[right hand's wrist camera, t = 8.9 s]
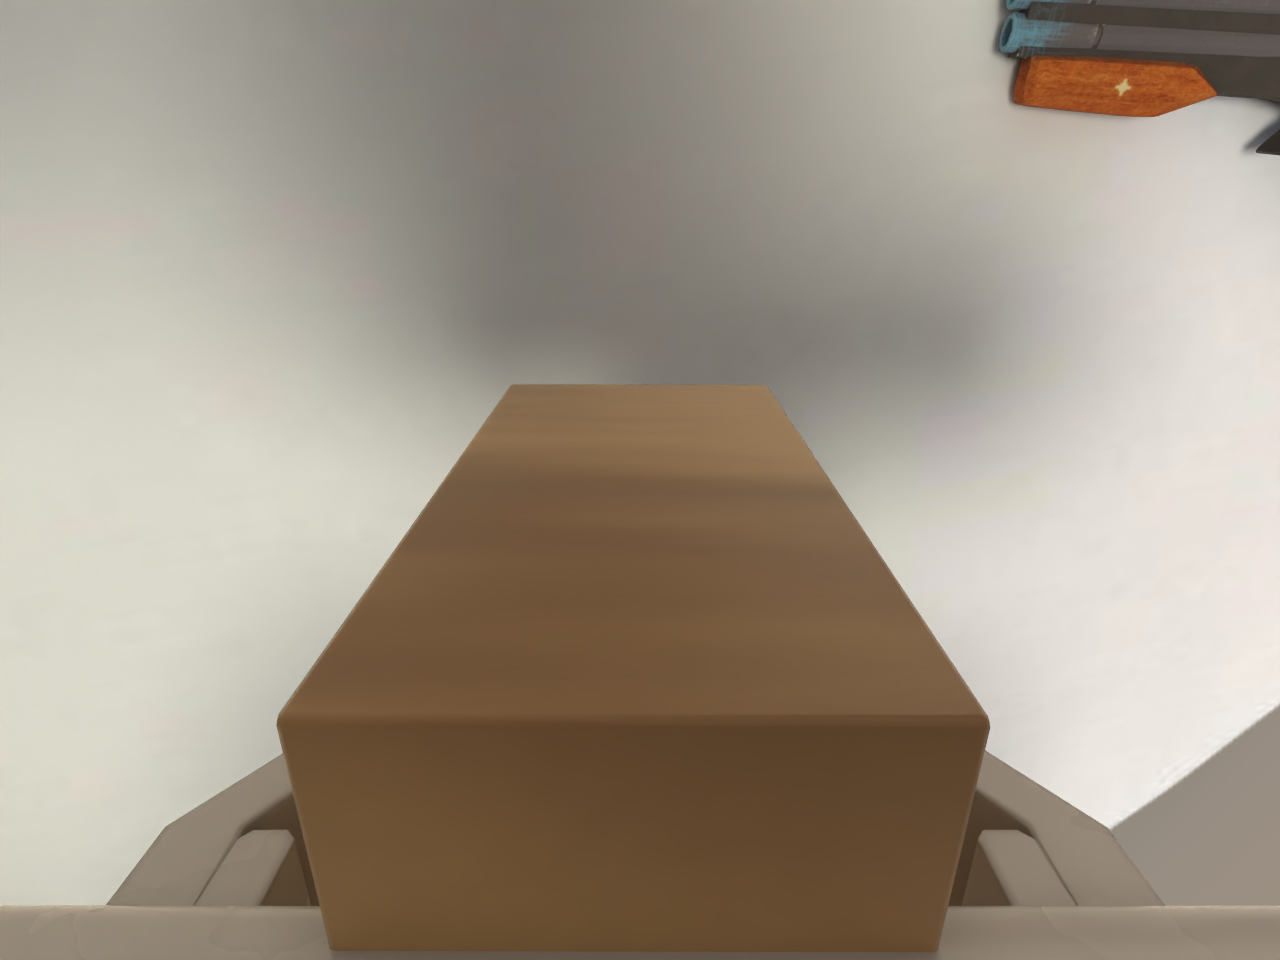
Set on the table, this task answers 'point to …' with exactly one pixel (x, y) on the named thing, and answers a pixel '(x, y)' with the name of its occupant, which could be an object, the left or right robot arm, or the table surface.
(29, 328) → the table surface
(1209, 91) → the toy gun
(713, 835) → the bar
